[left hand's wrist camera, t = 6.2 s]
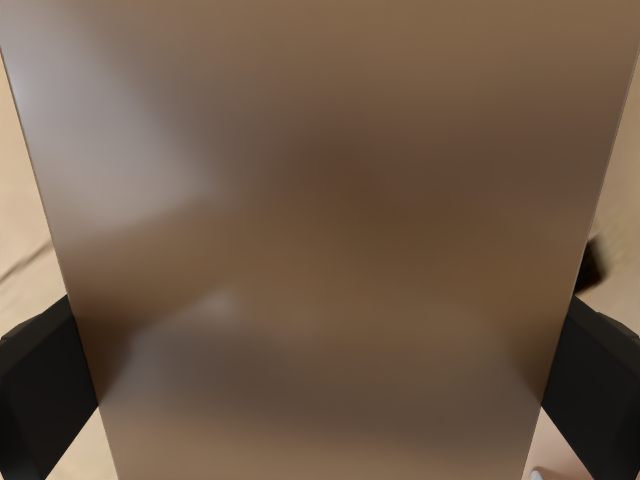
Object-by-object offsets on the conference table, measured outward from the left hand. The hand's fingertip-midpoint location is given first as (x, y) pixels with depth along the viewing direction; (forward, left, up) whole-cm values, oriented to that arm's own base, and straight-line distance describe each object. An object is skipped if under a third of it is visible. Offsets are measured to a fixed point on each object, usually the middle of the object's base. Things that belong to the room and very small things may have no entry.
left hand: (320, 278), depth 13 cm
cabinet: (+5, 0, -4) cm, 7 cm away
